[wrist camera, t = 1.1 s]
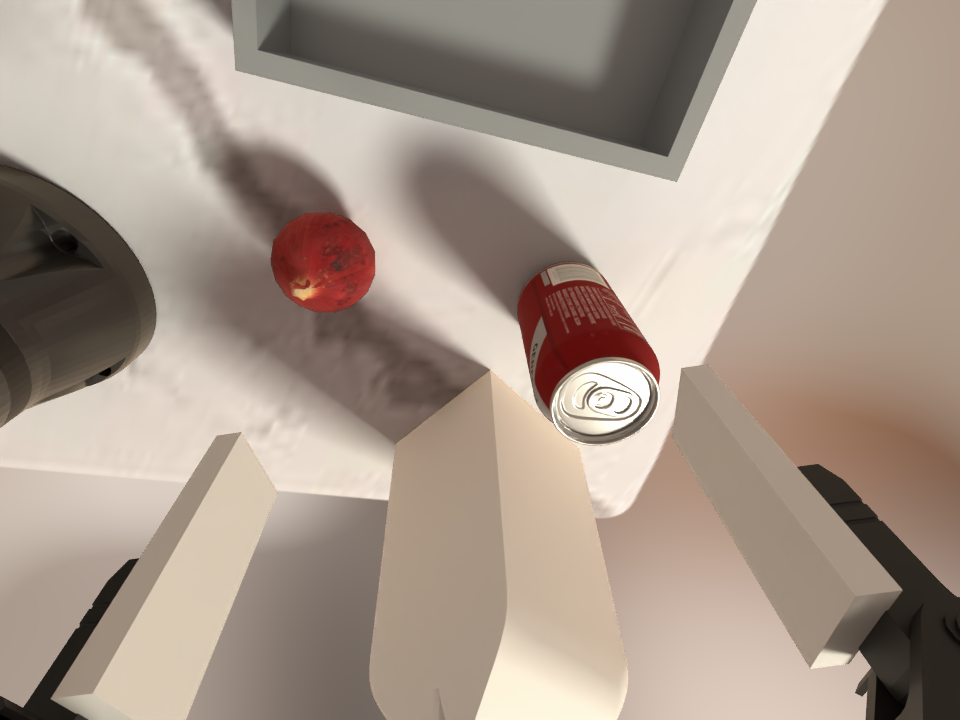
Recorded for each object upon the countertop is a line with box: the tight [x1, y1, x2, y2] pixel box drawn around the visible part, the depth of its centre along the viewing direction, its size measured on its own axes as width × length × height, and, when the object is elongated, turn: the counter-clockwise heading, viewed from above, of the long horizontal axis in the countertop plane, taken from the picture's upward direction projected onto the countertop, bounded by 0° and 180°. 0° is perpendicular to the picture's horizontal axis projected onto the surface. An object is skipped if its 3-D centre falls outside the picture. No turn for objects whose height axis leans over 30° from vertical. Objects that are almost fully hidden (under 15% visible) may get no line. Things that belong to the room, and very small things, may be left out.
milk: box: [369, 370, 628, 720], centre depth 29 cm, size 12×12×26 cm
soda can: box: [517, 262, 660, 446], centre depth 27 cm, size 7×7×12 cm
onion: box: [271, 213, 375, 312], centre depth 26 cm, size 6×6×8 cm
